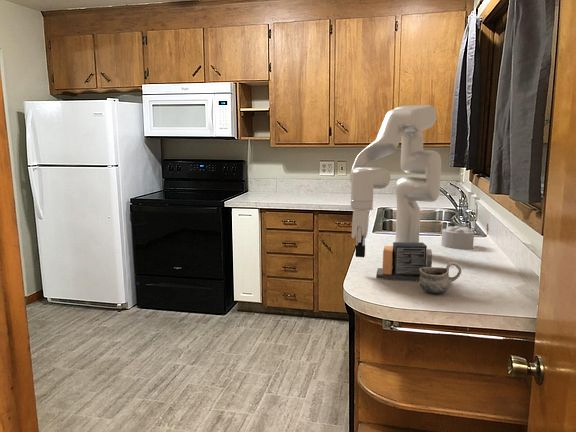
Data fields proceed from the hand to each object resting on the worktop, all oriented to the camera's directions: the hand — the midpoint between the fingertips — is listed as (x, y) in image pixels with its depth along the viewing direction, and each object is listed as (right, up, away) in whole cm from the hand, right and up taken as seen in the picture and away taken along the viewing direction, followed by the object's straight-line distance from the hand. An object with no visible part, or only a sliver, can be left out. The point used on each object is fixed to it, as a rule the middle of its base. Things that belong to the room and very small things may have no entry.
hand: (360, 256), depth 169 cm
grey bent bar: (+15, -7, -3) cm, 17 cm away
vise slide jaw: (+9, -5, -2) cm, 11 cm away
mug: (+22, -10, -18) cm, 30 cm away
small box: (+16, -6, -3) cm, 17 cm away
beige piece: (+49, +1, +44) cm, 66 cm away
